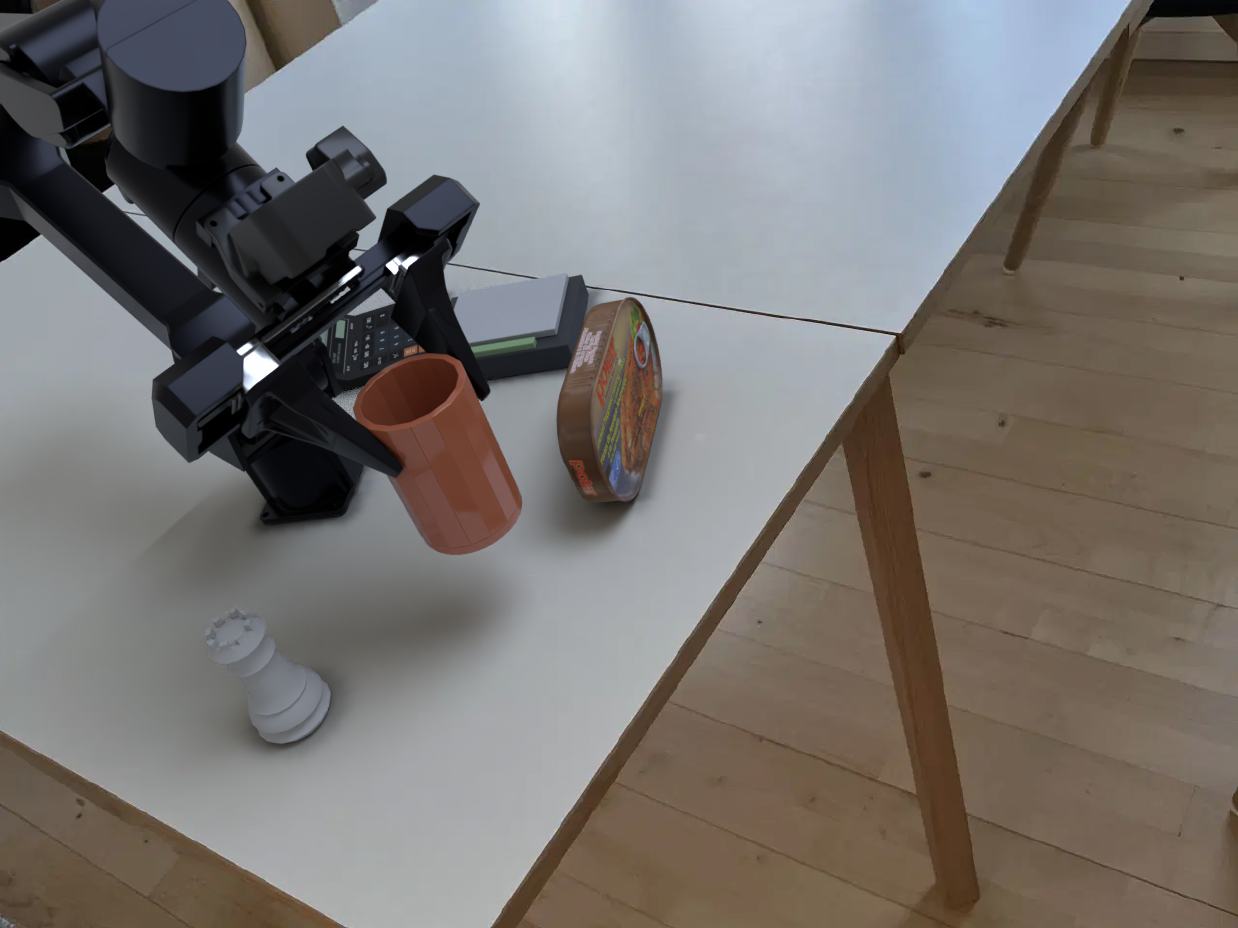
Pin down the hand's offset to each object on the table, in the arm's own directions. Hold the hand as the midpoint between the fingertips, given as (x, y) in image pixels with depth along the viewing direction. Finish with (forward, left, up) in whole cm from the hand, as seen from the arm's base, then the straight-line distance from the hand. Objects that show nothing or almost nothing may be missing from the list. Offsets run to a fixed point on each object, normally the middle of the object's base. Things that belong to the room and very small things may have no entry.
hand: (444, 434), depth 53 cm
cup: (-1, +1, -7) cm, 7 cm away
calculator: (-18, +29, -14) cm, 36 cm away
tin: (+5, +13, -14) cm, 19 cm away
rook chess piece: (-13, -6, -14) cm, 20 cm away
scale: (-5, +27, -13) cm, 30 cm away
